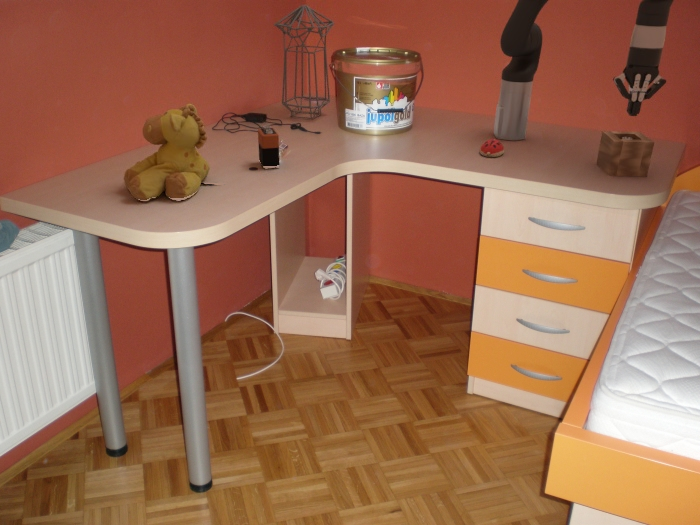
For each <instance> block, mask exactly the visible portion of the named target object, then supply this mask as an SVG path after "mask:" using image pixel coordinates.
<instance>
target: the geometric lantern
mask: <svg viewBox="0 0 700 525" xmlns="http://www.w3.org/2000/svg"><path fill="white" fill-rule="evenodd" d="M304 11H305V12H306V15H307V17H308V19H309V21H307V20H303V15H304ZM318 16H320V17H322V18H323V19H325V20H327V21H322V19H320V17H318ZM286 19H287V20H286ZM312 19H313V20H312ZM285 20H286V21H285ZM283 21H285V22H284V23H282V22H283ZM295 21H297V27H293V25H294V23H295ZM306 24H308V25H310V26H307V25H306ZM314 24H315V25H316V26H315V25H314ZM334 25H335V22H334V21H333V20H331V19H330V18H328V17H326V16H325V15H323V14H322V13H319V12H318V11H317V10H315V9H313V8H311V7H310V6H308V5H307V4H303V5H302V4H301V5H300V6H299V7H298V8H296V9H294V10H292V11H291V12H290V13H288V14H287V15H286V16H284V17H282V18H281V19H280V20H278V21H277V22H275V23H274V24H273V26H275V27H277V28H278V29H279V30H280V31H281V32H282V35H283V36H282V38H283V41H282V42H283V51H284V53H283V54H284V57H283V73H282V77H283V78H282V95H281V104H282V105H283V106H284V107H285V108H286V109H287V110H289V111H290V118H294V119H295V118H297V119H309V120H310V119H311V120H314V119H316V118H318V117H319V116H321V115H322V108H324V107H325V106H326V105H327V104H329V103H330V101H331V98H330V96H331V94H330V85H329V84H330V83H329V82H330V81H329V74H328V73H329V71H328V70H329V69H328V60H327V47H326V46H327V34H328V33H329V32H330V30H331V29H332V28H333V26H334ZM300 26H302V27H300ZM285 28H286V30H285ZM313 29H317V31H315V30H313ZM292 30H294V31H295V32H296V35H293V32H291V31H292ZM299 30H305V31H304V32H302V33H301V34H299V33H298V31H299ZM323 30H325V33H324V34H323ZM310 33H314V34H318V35H319V36H320V38H319V41H318V43H317V45H316V46H313V45H305V42H306V41H307V38H308V37H309V35H310ZM285 34H286V35H287V36H288V37H289V38H290V41H289V43H288V46H287V47H286V38H285V37H286V35H285ZM305 34H306V36H305V37H304V39H303V40H302V38H301V37H302V36H304V35H305ZM296 38H297V39H299V41H300V43H301V45H299V42H297V39H296ZM293 39H294V41H295V43H296V44H297V45H295V44H294V45H293V46H290V45H291V43H292V41H293ZM323 39H324V40H323ZM321 41H322V43H323V46H319V45H320V43H321ZM292 48H295V50H290V49H292ZM298 48H301V50H298ZM308 48H313V49H314V51H309V49H308ZM304 49H305V51H304ZM317 49H318V50H317ZM321 51H323V70H324V71H323V74H324V98H323V97H319V96H318V95H319V92H318V91H319V90H318V80H317V79H318V75H317V63H316V62H317V60H316V53H318V52H321ZM287 52H292V53H295V72H294V74H295V75H294V97H292V98H289V99H288V97H287V96H288V94H287V93H288V91H287V89H288V88H287V87H288V86H287V84H288V83H287V81H288V80H287V72H288V71H287V63H288V62H287V59H288V58H287V57H288V56H287V55H288V54H287ZM298 53H300V55H301V60H300V61H301V64H300V65H301V96H297V81H298V80H297V77H298ZM304 54H307V63H308V64H307V65H308V66H307V70H308V73H307V74H308V96H304ZM310 54H313V66H314V67H313V68H314V83H315V96H316V97H313V96H312V94H311V62H310V61H311V60H310V59H311V57H310ZM297 99H300V105H299V103H298V100H297ZM303 99H307V100H308V101H309V102H308V105H303ZM292 100H294V101H295V103H296V104H289V103H288V102H291V101H292ZM312 100H316V106H312ZM319 100H321V101H322V102H321V103H320V104H319ZM325 101H326V102H325ZM291 107H292V109H291ZM293 107H294V108H293ZM296 109H297V110H296ZM299 109H300V110H299ZM302 109H308V110H309V111H303V110H302ZM312 109H314V110H313V112H312ZM299 113H301V114H309V115H310V117H309V116H308V117H306V116H297V115H298V114H299ZM312 114H313V115H312ZM295 115H296V116H295Z"/></svg>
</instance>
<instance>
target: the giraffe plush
mask: <svg viewBox="0 0 700 525" xmlns="http://www.w3.org/2000/svg"><path fill="white" fill-rule="evenodd" d="M204 123H205V122H204V121H203V120H202V118H201V117H200V116H199V115H198V109H197V108H196V106H195V105H194V104H192V103H186V104H185V106H184V105H182V106H180V108H179V109H176V108H175V109H172V108H171V109H169V110H167V111H165V113H163V114H158V115H154V116H150V117H148V118H147V119H146V120H145V122H144V124H143V126H142V135H143V138H144V139H145V140H146V141H147V142H148V143H150V144H151V145H154V146H155V145H157V146H158V145H159V147H158V150H157V151H156V152H154V153H152V154H151V155H149V156H147V157H145V158H144V159H142V160H141V161H137V162H136V163H135V164H134V165H132V166H131V167H130V168H127V169H126V170H125V172H124V174H123V175H124V176H123V181H124V184H125V186H126V188H127V190H129V191H128V192H130V194H131V195H132V197H133V198H134V199H135V198H136V199H135V200H137V199H140V200H147V199H149V198H152V197H157V196H158V197H159V196H161V195H162V193H163V192H165V195H166V197H167V196H168V197H170V198H184V197H187V196H189V195H192V194H193V193H195V192H196V191H197V190H198V189H200V187H201V185H202V184H201V183H203V181H204V180H205V178H206V177H207V176H208V175H209V172H210V165H209V163H208V161H207V159H205V158H204V157H203V156H202V154H201V153H200V152H199V151H198V149H199V150H200V149H201V148H202V147H203V146H204V145H205V144H206V143H207V139H208V136H207V131H206V130H205V124H204ZM205 176H206V177H205ZM198 191H199V190H198ZM198 191H197V192H198ZM197 192H196V193H197ZM158 197H157V198H158ZM168 197H167V198H168Z"/></svg>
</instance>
